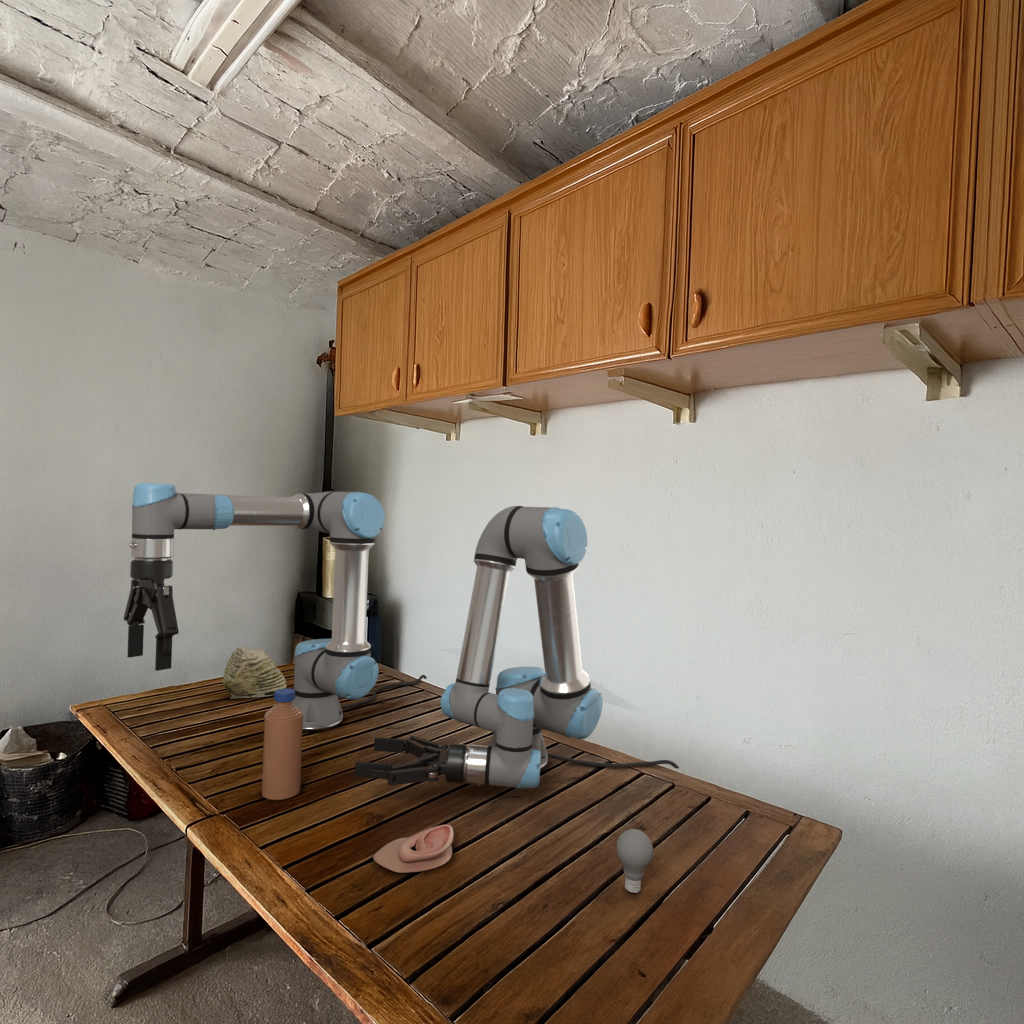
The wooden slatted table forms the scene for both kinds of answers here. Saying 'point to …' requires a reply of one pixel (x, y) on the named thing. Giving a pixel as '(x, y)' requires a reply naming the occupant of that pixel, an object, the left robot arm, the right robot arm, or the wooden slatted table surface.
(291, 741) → the bottle
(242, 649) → the fossil
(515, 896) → the wooden slatted table surface
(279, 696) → the cap
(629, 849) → the light bulb
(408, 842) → the anatomical model
